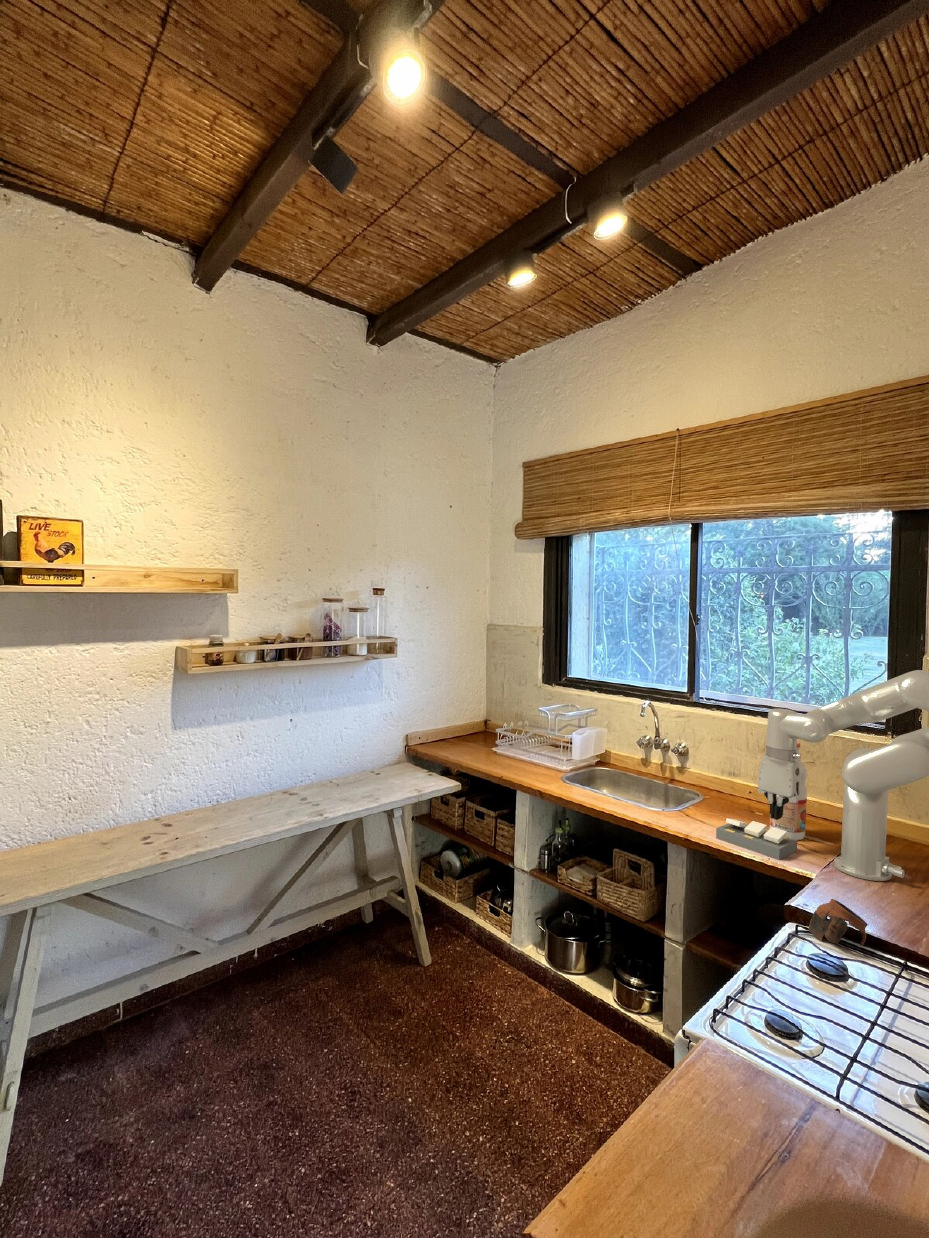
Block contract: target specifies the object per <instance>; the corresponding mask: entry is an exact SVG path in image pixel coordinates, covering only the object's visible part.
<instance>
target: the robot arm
mask: <svg viewBox="0 0 929 1238" xmlns="http://www.w3.org/2000/svg"><path fill="white" fill-rule="evenodd" d="M915 709H920V710H923V711H926V712H929V671H926V670H921V669H916V670H912V671H908V672H905V673H903V674H901V675H898V676H896V677H893V678H890V679H887V680H885V681H883V682H880V683H878V684H875V685H872V686H869V687H867V688H864V689H861V690H859V691H858V692H854V693H852V694H850V695H848V696H846V697H844V698H841V699H839V700H836V701H832V702H830V703H828V704H826V705H823V706H821V707H818V708H815V709H813V710H810V711H808V712H807V713H804V714H803V713H801V714H800V713H797V712H796V711H794V710H791V709H787V708H771V709H769V710H768V713H767V728H766V739H765V740H766V742H765V754H763V755H762V757H761V761H760V764H759V769H758V775H757V792H758V793H759V794H761V795H763V796H764V797H765V798H766V799H767V801H768V804H769V819H770V818H772V819H775V820H778V819H781V817H782V816H783V808H784V805H785V804H787V803H788V802H789V803H796V802H798V795H800V792H801V774H800V766H799V761H797V760H796V759H797V758H799V759H801V758H802V754H801V753H799V754H798V753H797V750H796V747H797V742H798V740H802V741H805V742H808V743H813V744H817V743H821V742H823V741H824V740H826V739H827V738H828V736H829V735H831V734H833V733H837V732H839V731H842V730H845V729H847V728H850V727H853V726H857V725H860V724H861V725H862V724H874V723H878V722H882V721H884V720H887V719H891V718H893V717H895V716H898V715H901V714H903V713H906V712H908V711H911V710H915ZM841 768H842V769H841V776H842V780H843V781H844V784H843V799H842V800H843V801H842V802H843V803H842V804H843V805H842V824H841V827H842V828H841V847H840V848H841V849H840V856H837V857H835V858H834V859H833V866H834V867H835V868H836V869H837V870H839V871H841V872H843V873H844V874H847V875H849V876H851V877H855V878H858V879H863V880H868V881H872V882H873V881H874V882H883V881H885V882H886V881H888V880H891V879H892V877H893V876H895V877H897V878H901V879H904V878H905V870H904V869H903V867H901V866H899V865H895V864H893V863H891V862H890V856H886V849H887V828H888V827H887V824H888V822H887V821H888V807H889V791H890V790H893V789H896V788H900V787H901V786H905V785H908V784H912V783H915V782H917V781H920V780H922V779H924V778H927V777H928V776H929V725H928V726H926V727H925V726H924V727H923V728H920V729H917V730H913V731H910V732H908V733H904V734H900V735H898V736H896V737H895V738H893V740H891V742H890V743H889V744H887V745H884V746H882V747H879V748H876V749H871V748H865V747H864V748H857V749H855V750H853V751H851V752H850V753H849V754H848V755H847V756H846V758H845V760H844V761H843V765H842V767H841ZM777 795H779V797H778V801H777ZM770 814H771V815H770Z"/></svg>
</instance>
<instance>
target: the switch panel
mask: <svg viewBox="0 0 929 1238" xmlns="http://www.w3.org/2000/svg"><path fill="white" fill-rule="evenodd" d="M744 828H746V827H744ZM744 828H741V827H738V826H735V825H732V824H730V823H726V824H723V825H721V826H718V827H716V828H715V838H716V839H718V840H721V841H723V842H727V843H730V844H732V845H734V846H736V847H737V846H738V847H739V848H744V849H746V850H749V851H752V852H754V853H757V854H761V855H762V856H766V857H769V858H771V859H775V860H777V861H780V860H782V859H784V858H786V857H788V856H790V855H793V854H794V853H797V852H798V840H794V839H790V838H787V837H785V838H784V839H783V840H782V841H781V842H780V843H779V844H778V843H775V842H772V841H769V840H766V839H764V834H765V833H766V832H767V831H768V830H766V831H764V832H763V834H761V835H760V836H759V837H757V836H754V835H751V834H748V833H745V831H744Z"/></svg>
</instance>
